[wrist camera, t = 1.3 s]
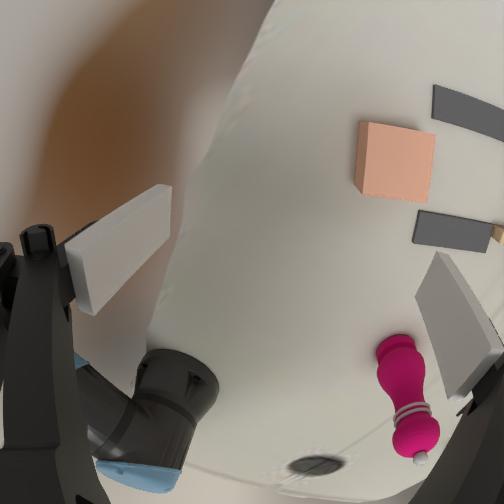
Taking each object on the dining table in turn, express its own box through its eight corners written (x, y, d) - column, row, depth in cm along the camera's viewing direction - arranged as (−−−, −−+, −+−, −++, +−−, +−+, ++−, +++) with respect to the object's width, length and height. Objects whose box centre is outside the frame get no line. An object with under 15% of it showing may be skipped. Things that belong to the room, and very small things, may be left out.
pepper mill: (363, 354, 41) (377, 473, 23) (397, 324, 38) (431, 445, 20) (393, 370, 41) (413, 478, 24) (425, 343, 38) (461, 452, 20)
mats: (411, 241, 32) (413, 243, 32) (433, 85, 24) (435, 84, 23) (483, 251, 31) (485, 253, 30) (508, 113, 22) (511, 113, 22)
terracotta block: (353, 183, 31) (362, 194, 26) (358, 121, 28) (368, 121, 23) (410, 191, 30) (426, 203, 26) (417, 131, 27) (435, 134, 22)
